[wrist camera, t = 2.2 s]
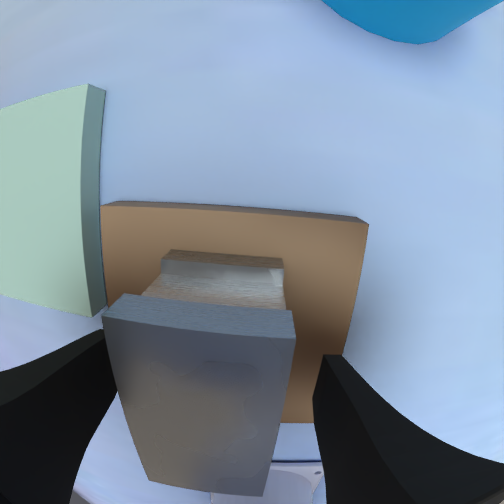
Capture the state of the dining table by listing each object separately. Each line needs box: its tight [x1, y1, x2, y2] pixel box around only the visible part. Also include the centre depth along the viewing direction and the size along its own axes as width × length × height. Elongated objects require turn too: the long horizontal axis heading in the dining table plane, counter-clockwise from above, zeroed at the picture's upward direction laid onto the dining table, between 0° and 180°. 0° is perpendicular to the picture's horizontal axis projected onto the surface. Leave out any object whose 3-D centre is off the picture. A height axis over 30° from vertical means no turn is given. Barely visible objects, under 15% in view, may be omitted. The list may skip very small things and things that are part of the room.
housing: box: [101, 249, 296, 497], centre depth 9 cm, size 7×4×5 cm, turn 176°
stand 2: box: [100, 201, 369, 423], centre depth 12 cm, size 10×10×2 cm
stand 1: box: [0, 84, 107, 318], centre depth 11 cm, size 10×10×2 cm
